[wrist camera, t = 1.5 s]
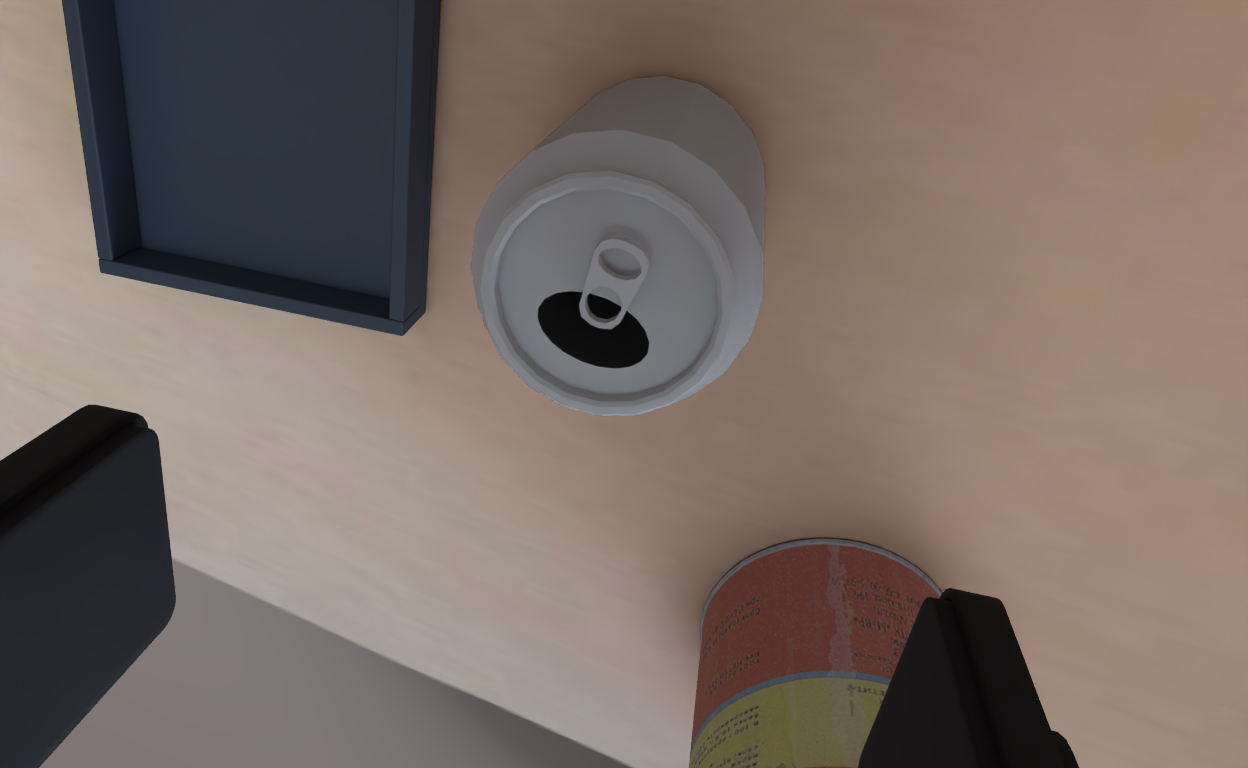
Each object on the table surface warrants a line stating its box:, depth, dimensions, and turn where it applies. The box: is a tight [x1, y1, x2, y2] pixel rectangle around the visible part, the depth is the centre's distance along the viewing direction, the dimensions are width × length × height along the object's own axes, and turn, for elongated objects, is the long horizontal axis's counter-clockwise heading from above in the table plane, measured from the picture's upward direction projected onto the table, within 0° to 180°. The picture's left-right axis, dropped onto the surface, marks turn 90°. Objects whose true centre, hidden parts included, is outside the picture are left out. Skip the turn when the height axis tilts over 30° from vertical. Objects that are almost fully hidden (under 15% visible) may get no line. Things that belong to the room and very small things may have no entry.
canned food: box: [689, 539, 942, 768], centre depth 34 cm, size 11×11×12 cm
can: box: [471, 76, 765, 416], centre depth 25 cm, size 8×8×12 cm
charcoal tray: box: [62, 0, 440, 336], centre depth 31 cm, size 14×12×2 cm
